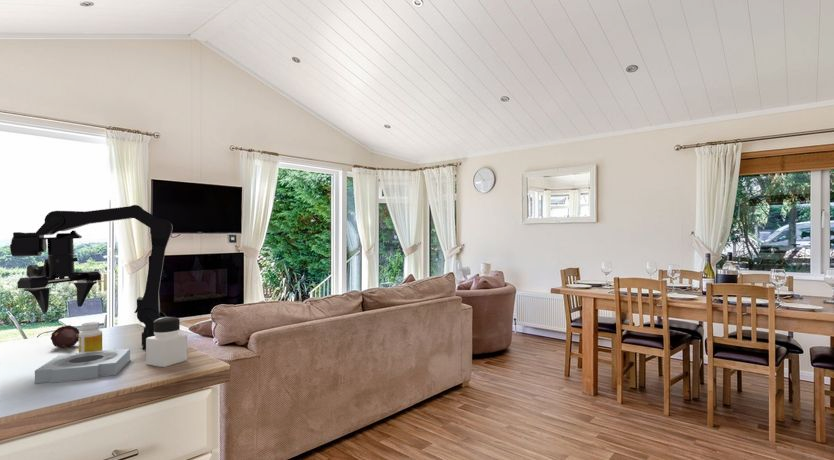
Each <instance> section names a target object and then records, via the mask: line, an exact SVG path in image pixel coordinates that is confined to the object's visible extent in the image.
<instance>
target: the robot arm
mask: <svg viewBox="0 0 834 460" xmlns="http://www.w3.org/2000/svg"><path fill="white" fill-rule="evenodd" d="M130 219H135V220H137V221H138V222H140V223H142V224H143V225H145V226H146V227H148V228H149V229H150V239H151V240H150V241H151V251H150V257H149V264H148V265H149V266H148V270H147V277H146V285H145V291H144V294H143V296H142V297H141V296H138V298H137V299H136V309H135V311H134V313H135V314H136V317H137V320H138V321H139V322H140V323H142V324H144V327H143V331H142V332H141V349H142V350H146V338H148V337H152V336H155V335H154V321H155V320H157V319H159V318H164V317H168V315H166V314H165V313H164V312H162V311H161V302H160V301H161V300H160V287H161V280H162V279H161V278H162V273H163V268H164V262H165V260H164V259H165V255H166V248H167V246H168V243H169V240H170V238H171V235H172V232H173V224H172V223H171V222H170V221H169V220H168V219H165V218H158V217H156V216H154V215H153V214H151V213H150V212H148V211H147V210H146V209H143V207H142V206H140V205H138V204H132V205H129V206H120V207H119V206H118V207H112V208H105V209H96V210H87V211H82V210H81V211H78V210H74V211H73V210H52V211H50V212H48V214H46V215H45V217H44V223H43V224H42V225H41V226H40V227H39V228H38V229H37V230H36V232H19V231H16V232H12V238H11V240H10V244H9V250H10V254H11V256H12V257H13V258H21V257H40V256H42V254H43V253H46V251H47V258H45V259H44V260H43V261H44V262H43V263H44V264H43V265H38V264H30V265H28V266H26V275H27V277H19V279H18V281H17V284H16V285H17V289H23V291H24V292H28V293H30V294H31V295H32V296H33V297H34V299H35V300H36V302H37V304H38V306H39V307H40V310H41V311H42V313H43V314H47V313H48V310H49V301H50V300H49V299H50V287H47V286H48V285H51V284H62V283H69V282H73V285H74V287H75V288H76V304H77V307H78V308H81V307H82V306H83V304H84V302H85V301H86V298H87V297H88V295H89V293H90V292H91V291H92V288H93V286H94V285H96V284H97V283H98V282H97V281H101V280H102V274H101V273H100V272H99V270H87V271H86V270H85V271H75V262H78V257H75V253H74V252H75V250H74V249H75V248H74V246H75V245H74V240H75V239H82V238H83V236H82V235H80V234H79V233H78V232H77V231H76V230H74V229H77V228H81V227H84V226H86V225H87V226H88V225H92V224H98V223H105V222H113V221H123V220H130ZM70 230H71V231H70ZM66 231H70V232H68V233H67V232H66ZM58 232H61V233H58ZM62 232H64V233H62ZM55 234H56V235H55ZM53 235H55V236H54V237H51V236H53ZM45 236H49V237H45ZM75 281H76V282H75Z"/></svg>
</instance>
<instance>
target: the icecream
mask: <svg viewBox="0 0 834 460" xmlns="http://www.w3.org/2000/svg"><path fill="white" fill-rule="evenodd" d="M80 332H81V331H79V329H78V328H77V327H75V326H72V325H71V324H70V325H65V326H64V325H62V326H60V327H58V328H56V329H55V330H54V331H53V332H52V333H51V336H50V340H51V343H52V345H53V346H54V347H56V348H60V349H66V348H65V347H68V348H72V347H73V346H75V345H76V344H78V343H79V333H80ZM71 346H72V347H71Z"/></svg>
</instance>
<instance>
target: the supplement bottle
mask: <svg viewBox="0 0 834 460" xmlns="http://www.w3.org/2000/svg"><path fill="white" fill-rule="evenodd" d="M99 328H100V322H98V321H89V322H84V323H81V330H82V331H79V332H80V333H79V341H78V353H80V352H91V351H102V350H103V331H102V330H101V329H99Z"/></svg>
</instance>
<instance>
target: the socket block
mask: <svg viewBox="0 0 834 460" xmlns="http://www.w3.org/2000/svg"><path fill="white" fill-rule="evenodd" d="M130 360H131V348H125V349H124V348H123V349H116V348H115V349H102V351H91V352H80V353H79V352H76V353H72V354H71V353H69V354H59V355H57V356H56V357H53V358H52V359H51V360H49V361H48V362H45V364H43V365H41V366H39V367H38V368H37V369H35V370H34V384H41V383H42V384H43V383H51V384H54V383H55V384H56V383H62V382H63V383H65V382H71V381H81V380H83V381H84V380H92V379H98V378H100V377H107V376H116V375H117V374H118V373H119V372H120V371H121V370H122V369H123V368H124V367H125V366H126V365H127V364H128V362H129V361H130Z"/></svg>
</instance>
